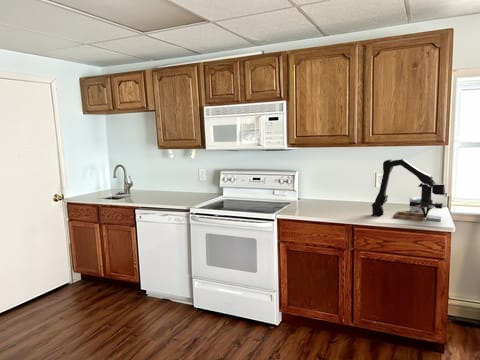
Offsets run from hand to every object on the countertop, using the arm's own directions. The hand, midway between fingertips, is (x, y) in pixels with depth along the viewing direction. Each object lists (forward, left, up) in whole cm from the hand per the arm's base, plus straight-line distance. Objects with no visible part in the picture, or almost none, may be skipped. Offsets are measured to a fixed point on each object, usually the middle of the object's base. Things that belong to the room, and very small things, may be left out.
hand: (425, 217), depth 235 cm
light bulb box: (-8, +19, -2) cm, 21 cm away
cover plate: (+5, +1, -2) cm, 5 cm away
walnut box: (-9, 0, -2) cm, 10 cm away
